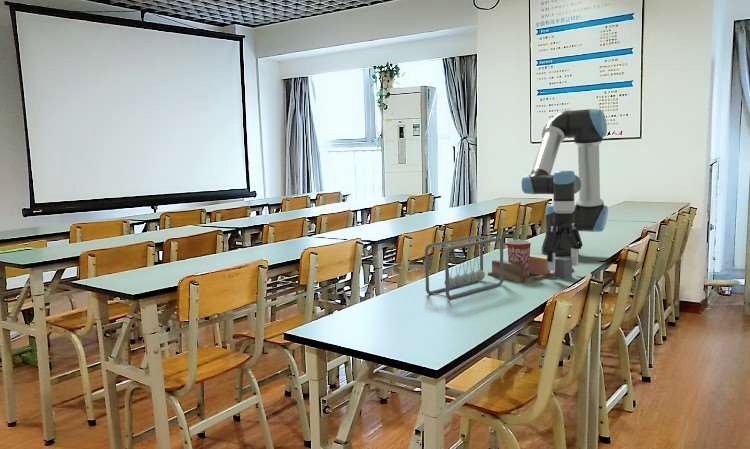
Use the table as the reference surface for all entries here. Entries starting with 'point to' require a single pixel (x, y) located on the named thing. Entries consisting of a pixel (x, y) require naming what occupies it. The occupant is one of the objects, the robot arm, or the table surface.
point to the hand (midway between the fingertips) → (563, 268)
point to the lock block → (563, 268)
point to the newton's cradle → (464, 278)
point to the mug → (519, 253)
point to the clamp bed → (514, 271)
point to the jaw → (538, 265)
